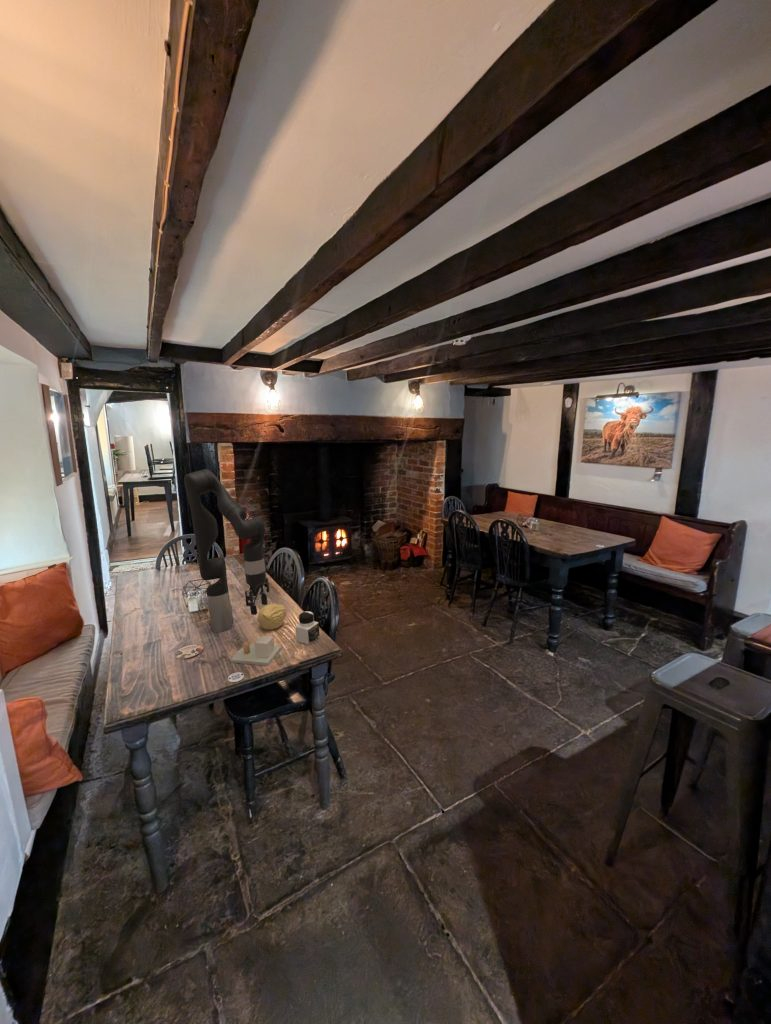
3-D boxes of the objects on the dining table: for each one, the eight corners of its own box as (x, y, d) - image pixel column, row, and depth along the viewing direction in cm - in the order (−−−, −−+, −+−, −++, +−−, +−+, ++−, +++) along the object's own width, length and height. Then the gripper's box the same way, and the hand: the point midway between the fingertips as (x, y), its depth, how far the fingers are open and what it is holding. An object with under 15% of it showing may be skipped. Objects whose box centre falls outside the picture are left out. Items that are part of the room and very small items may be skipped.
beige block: (262, 649, 169) (261, 636, 168) (274, 650, 168) (273, 636, 167) (256, 656, 164) (254, 643, 162) (268, 657, 163) (267, 643, 161)
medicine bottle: (309, 645, 173) (307, 618, 171) (296, 641, 177) (293, 615, 174) (320, 637, 179) (317, 611, 177) (307, 633, 183) (304, 608, 180)
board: (246, 646, 174) (244, 635, 173) (281, 649, 171) (280, 637, 170) (230, 662, 163) (228, 650, 162) (268, 665, 159) (266, 653, 158)
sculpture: (270, 635, 183) (268, 612, 180) (254, 628, 190) (251, 606, 188) (290, 624, 192) (288, 603, 189) (274, 618, 199) (272, 597, 196)
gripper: (255, 563, 166) (259, 601, 169) (236, 576, 152) (241, 617, 156) (272, 564, 164) (276, 602, 168) (255, 577, 151) (259, 618, 154)
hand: (259, 609), depth 162 cm, fingers open, 8 cm apart
